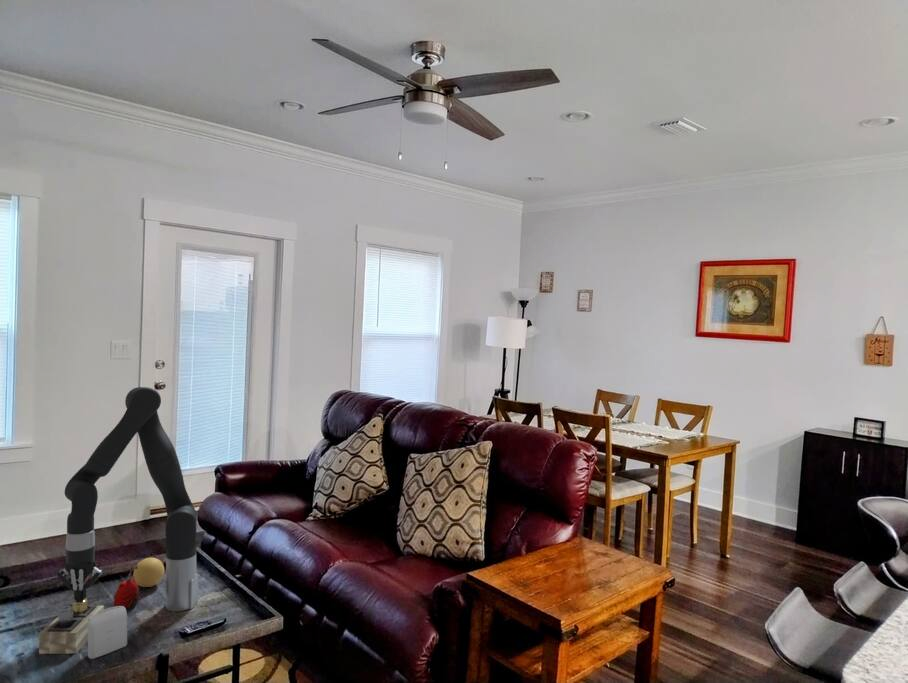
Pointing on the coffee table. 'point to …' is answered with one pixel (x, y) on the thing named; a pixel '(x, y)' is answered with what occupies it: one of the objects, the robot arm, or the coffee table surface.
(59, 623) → the peg steel
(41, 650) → the birch block
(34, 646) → the coffee table surface
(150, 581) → the stress ball
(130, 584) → the red clay folk toy
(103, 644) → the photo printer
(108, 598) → the coffee table surface
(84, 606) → the peg brass
